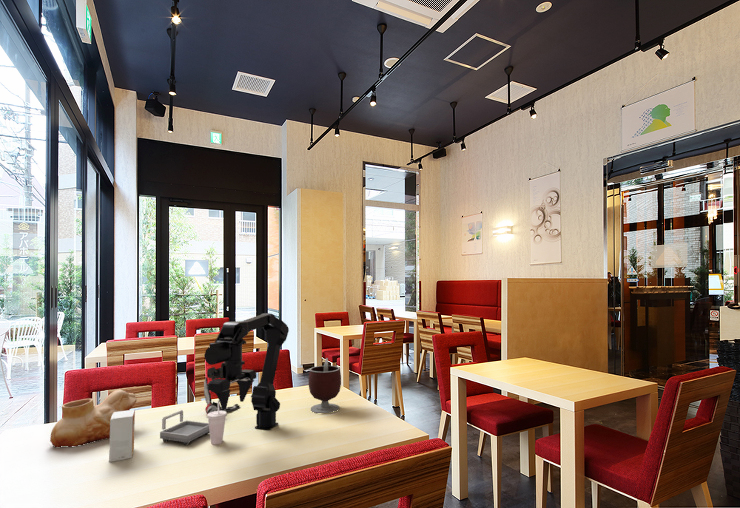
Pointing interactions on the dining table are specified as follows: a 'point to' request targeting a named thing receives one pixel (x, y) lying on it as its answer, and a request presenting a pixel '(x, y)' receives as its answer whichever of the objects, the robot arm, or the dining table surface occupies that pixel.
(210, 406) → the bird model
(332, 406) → the mate gourd
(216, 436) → the smoothie
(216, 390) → the robot arm
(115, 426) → the small box
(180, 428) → the grey tray
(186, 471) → the dining table surface
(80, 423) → the ceramic vessel
